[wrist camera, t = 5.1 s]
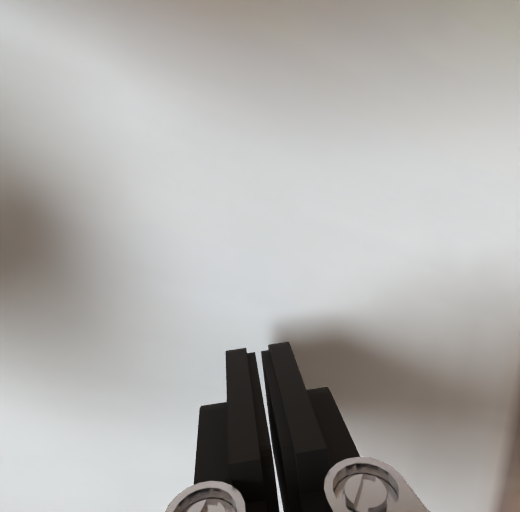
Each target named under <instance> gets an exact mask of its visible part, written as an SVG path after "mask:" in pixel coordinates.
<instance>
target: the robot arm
mask: <svg viewBox="0 0 520 512" xmlns="http://www.w3.org/2000/svg"><path fill="white" fill-rule="evenodd" d="M268 348H269V350H267V351H261V355H262V363H263V372H264V380H265V389H266V397H267V406H268V414H269V423H270V431H271V440H272V447H273V453H274V459H275V464H276V470H277V476H278V481H279V487H280V493H281V499H282V504H283V510H284V512H429V511H428V510H427V508H426V507H425V506H424V505H423V503H422V502H421V501H420V499H419V498H418V497H417V495H416V494H415V493H414V491H413V490H412V489H411V488H410V486H409V485H408V484H407V482H406V481H405V480H404V478H403V477H402V476H401V475H400V474H399V473H398V472H397V471H396V470H395V469H394V468H393V467H391V466H389V465H388V464H386V463H384V462H382V461H379V460H376V459H373V458H367V457H360V456H359V453H358V451H357V449H356V447H355V445H354V442H353V440H352V438H351V436H350V434H349V431H348V429H347V427H346V425H345V423H344V421H343V418H342V416H341V414H340V412H339V410H338V407H337V405H336V403H335V401H334V399H333V396H332V394H331V392H330V390H329V388H327V387H324V388H317V389H310V390H306V388H305V386H304V383H303V380H302V377H301V374H300V372H299V369H298V366H297V363H296V360H295V358H294V355H293V352H292V349H291V346H290V344H289V342H285V343H278V344H271V345H268ZM226 380H227V402H224V403H218V404H211V405H204V406H201V407H200V412H199V425H198V438H197V451H196V463H195V476H194V485H193V486H190V487H188V488H186V489H185V490H184V491H182V492H181V493H179V494H178V495H177V496H176V497H175V498H174V499H173V500H172V502H171V503H170V504H169V505H168V507H167V509H166V511H165V512H279V505H278V497H277V488H276V480H275V472H274V464H273V457H272V450H271V444H270V438H269V432H268V426H267V420H266V415H265V409H264V403H263V397H262V391H261V385H260V380H259V374H258V368H257V362H256V356H255V352H253V353H247V352H246V348H243V349H236V350H229V351H226Z"/></svg>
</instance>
